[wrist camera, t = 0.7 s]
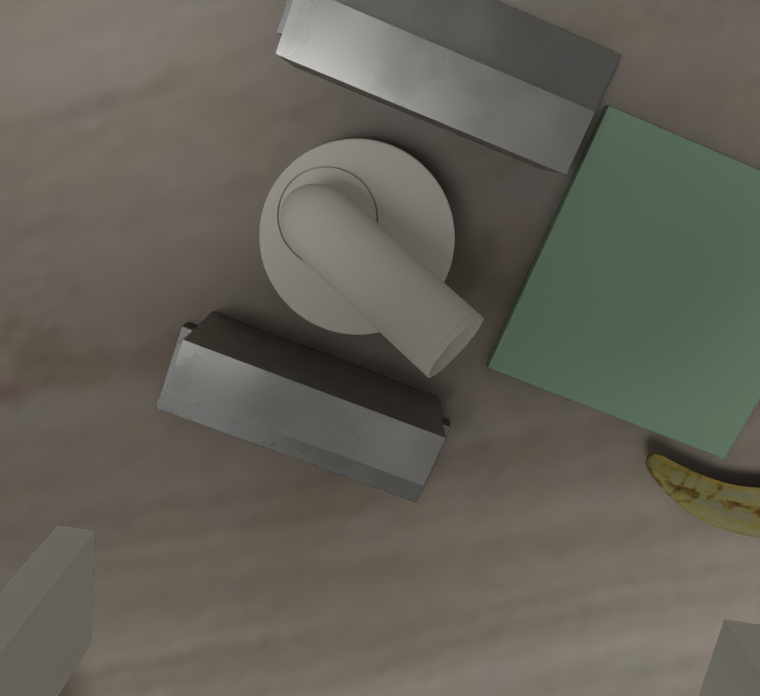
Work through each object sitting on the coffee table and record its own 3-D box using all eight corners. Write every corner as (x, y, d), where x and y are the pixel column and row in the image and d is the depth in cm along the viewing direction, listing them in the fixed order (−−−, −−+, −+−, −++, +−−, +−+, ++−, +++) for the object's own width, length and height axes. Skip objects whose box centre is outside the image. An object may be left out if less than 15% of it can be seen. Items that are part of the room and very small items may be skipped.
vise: (161, 401, 36) (125, 442, 31) (315, -74, 30) (299, -114, 25) (415, 494, 37) (418, 547, 32) (615, 56, 31) (656, 42, 26)
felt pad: (486, 364, 35) (487, 367, 34) (605, 106, 31) (609, 105, 31) (719, 453, 36) (724, 458, 36) (859, 215, 33) (867, 216, 32)
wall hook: (396, 454, 26) (172, 288, 25) (395, 371, 35) (233, 246, 34) (554, 276, 24) (322, 82, 23) (510, 237, 33) (343, 97, 32)
